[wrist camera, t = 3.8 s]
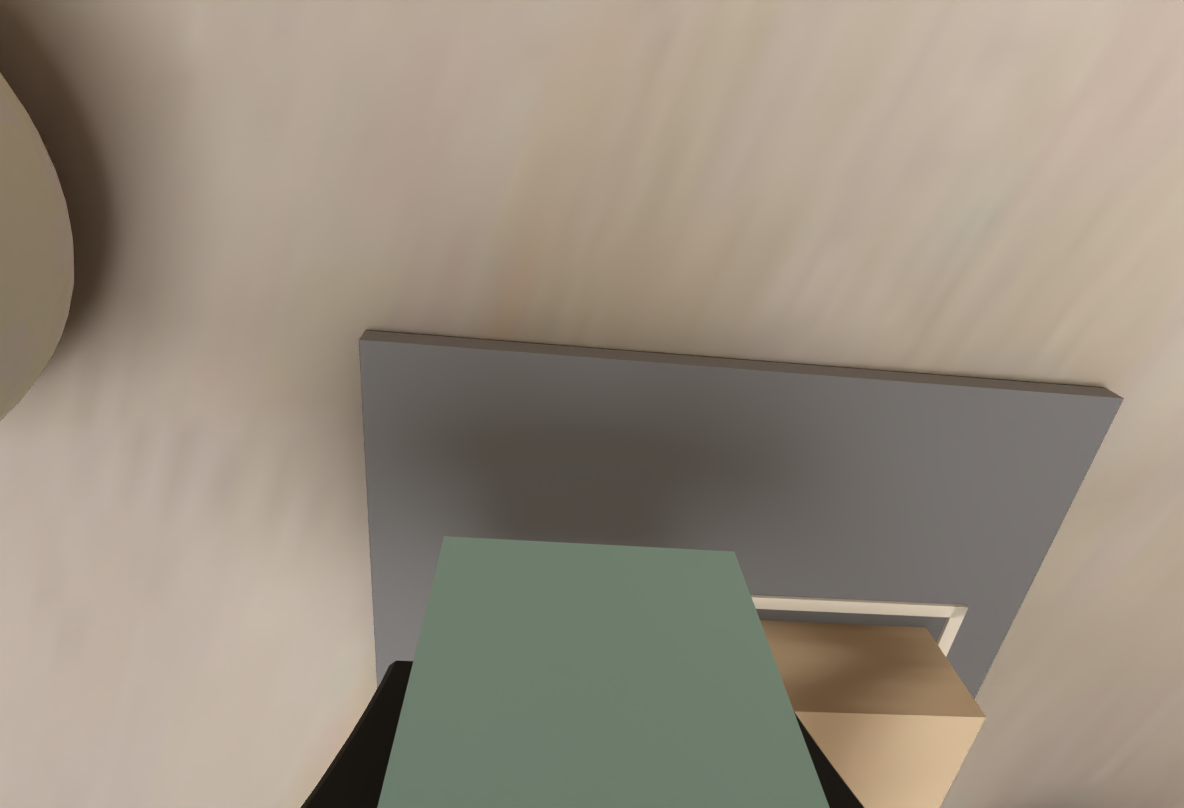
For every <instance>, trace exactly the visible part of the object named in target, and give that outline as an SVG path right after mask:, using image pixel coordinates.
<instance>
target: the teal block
mask: <svg viewBox="0 0 1184 808" xmlns="http://www.w3.org/2000/svg"><path fill="white" fill-rule="evenodd" d="M377 808H830V807H829V805H828V802H827V799H826V797H825V794H824V791H823V789H822V786H821V783H820V781H819V778H818V775H817V772H816V770H815V767H814V764H813V762H812V759H811V756H810V754H809V751H808V748H807V746H806V743H805V740H804V737H803V735H802V732H801V729H800V727H799V724H798V721H797V719H796V716H795V713H794V710H793V708H792V705H791V702H790V700H789V697H788V694H787V692H786V689H785V686H784V684H783V681H782V678H781V675H780V673H779V670H778V667H777V665H776V662H775V659H774V657H773V654H772V651H771V649H770V646H769V643H768V640H767V638H766V635H765V632H764V630H763V627H762V624H761V622H760V619H759V616H758V614H757V611H756V608H755V605H754V603H753V600H752V597H751V595H750V592H749V589H748V587H747V584H746V581H745V579H744V576H743V573H742V570H741V568H740V565H739V562H738V560H737V557H736V554H735V552H734V551H715V550H696V549H677V548H658V547H639V546H620V545H601V544H582V543H563V542H544V541H525V540H506V539H487V538H468V537H449V536H444V538H443V543H442V547H441V551H440V555H439V559H438V563H437V567H436V571H435V575H434V579H433V583H432V587H431V591H430V595H429V599H428V604H427V608H426V612H425V616H424V620H423V624H422V628H421V632H420V636H419V640H418V644H417V648H416V652H415V656H414V660H413V665H412V669H411V673H410V677H409V681H408V685H407V689H406V693H405V697H404V701H403V705H402V709H401V713H400V717H399V721H398V726H397V730H396V734H395V738H394V742H393V746H392V750H391V754H390V758H389V762H388V766H387V770H386V774H385V778H384V782H383V787H382V791H381V795H380V799H379V803H378V807H377Z"/></svg>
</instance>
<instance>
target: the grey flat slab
mask: <svg viewBox="0 0 1184 808" xmlns="http://www.w3.org/2000/svg"><path fill="white" fill-rule="evenodd" d="M359 352H360V370H361V389H362V408H363V427H364V446H365V465H366V484H367V503H368V522H369V540H370V559H371V578H372V597H373V616H374V635H375V654H376V673H377V688H378V687H379V685H380V683H381V681H382V679H383V677H384V675H385V673H386V671H387V669H388V667H389V665H390V664H392V663H393V662H395V661H413V660H414V656H415V652H416V648H417V644H418V640H419V636H420V632H421V628H422V624H423V620H424V616H425V612H426V608H427V604H428V599H429V595H430V591H431V587H432V583H433V579H434V575H435V571H436V567H437V563H438V559H439V555H440V551H441V547H442V543H443V538H444V536H449V537H468V538H487V539H506V540H525V541H544V542H563V543H582V544H601V545H620V546H639V547H658V548H677V549H696V550H715V551H734V552H735V554H736V557H737V560H738V562H739V565H740V568H741V570H742V573H743V576H744V579H745V581H746V584H747V587H748V589H749V592H750V595H751V597H752V600H753V603H754V605H755V608H756V611H757V614H758V616H759V619H760V620H766V621H789V622H813V623H836V624H859V625H882V626H905V627H926V628H927V630H928V631H929V633H930V634H931V636H932V637H933V639H934V640H935V642H936V643H937V645H938V646H939V648H940V649H941V651H942V652H943V654H944V655H945V657H946V658H947V660H948V661H949V663H950V664H951V666H952V667H953V669H954V670H955V672H956V673H957V675H958V676H959V678H960V679H961V681H962V682H963V684H964V685H965V687H966V688H967V690H968V691H969V693H970V694H971V696H972V697H973V699H975V697H976V695H977V693H978V691H979V689H980V686H981V684H982V682H983V680H984V678H985V676H986V674H987V672H988V670H989V668H990V666H991V664H992V662H993V660H994V658H995V656H996V654H997V652H998V650H999V648H1000V646H1001V644H1002V642H1003V640H1004V638H1005V636H1006V634H1007V632H1008V630H1009V628H1010V626H1011V624H1012V622H1013V620H1014V618H1015V616H1016V614H1017V612H1018V610H1019V608H1020V606H1021V604H1022V602H1023V600H1024V598H1025V596H1026V594H1027V592H1028V590H1029V588H1030V586H1031V584H1032V582H1033V580H1034V578H1035V576H1036V574H1037V572H1038V570H1039V568H1040V566H1041V564H1042V562H1043V560H1044V558H1045V556H1046V554H1047V552H1048V550H1049V548H1050V546H1051V544H1052V542H1053V540H1054V538H1055V536H1056V534H1057V532H1058V530H1059V528H1060V526H1061V524H1062V522H1063V520H1064V518H1065V516H1066V514H1067V512H1068V510H1069V508H1070V506H1071V504H1072V502H1073V500H1074V498H1075V496H1076V494H1077V492H1078V490H1079V488H1080V486H1081V483H1082V481H1083V479H1084V477H1085V475H1086V473H1087V471H1088V469H1089V467H1090V465H1091V463H1092V461H1093V459H1094V457H1095V455H1096V453H1097V451H1098V449H1099V447H1100V445H1101V443H1102V441H1103V439H1104V437H1105V435H1106V433H1107V431H1108V429H1109V427H1110V425H1111V423H1112V421H1113V419H1114V417H1115V415H1116V413H1117V411H1118V409H1119V407H1120V405H1121V403H1122V401H1123V399H1124V398H1122V397H1120V396H1119V395H1117V394H1115V393H1113V392H1112V391H1110V390H1108V389H1106V388H1099V387H1086V386H1073V385H1060V384H1047V383H1035V382H1022V381H1009V380H996V379H983V378H971V377H958V376H945V375H932V374H919V373H907V372H894V371H881V370H868V369H855V368H843V367H830V366H817V365H804V364H791V363H779V362H766V361H753V360H740V359H727V358H715V357H702V356H689V355H676V354H663V353H650V352H638V351H625V350H612V349H599V348H586V347H574V346H561V345H548V344H535V343H522V342H510V341H497V340H484V339H471V338H458V337H446V336H433V335H420V334H407V333H394V332H382V331H369V330H366V331H365V332H364V333H363V335H362V336H361V338H360V339H359Z"/></svg>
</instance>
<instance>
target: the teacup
mask: <svg viewBox="0 0 1184 808" xmlns="http://www.w3.org/2000/svg"><path fill="white" fill-rule="evenodd" d="M73 287H74V248H73V237H72V231H71V225H70V220H69V214H68V209H67V204H66V200H65V197H64V194H63V191H62V188H61V185H60V182H59V179H58V176H57V173H56V170H55V168H54V165H53V163H52V161H51V159H50V157H49V154H48V152H47V150H46V148H45V146H44V144H43V141H42V139H41V137H40V135H39V133H38V131H37V129H36V127H35V125H34V124H33V122H32V120H31V118H30V116H29V115H28V113H27V111H26V110H25V108H24V107H23V105H22V104H21V102H20V101H19V99H18V98H17V96H16V95H15V93H14V92H13V90H12V89H11V87H10V86H9V85H8V83H7V82H6V80H5V79H4V77H3V76H2V74H1V73H0V421H1V420H2V419H3V418H4V417H5V416H6V415H7V414H8V413H9V412H10V411H11V410H12V409H13V408H14V407H15V406H16V405H17V404H18V403H19V401H20V400H21V399H22V398H23V396H24V395H25V394H26V393H27V391H28V390H29V389H30V388H31V386H32V385H33V384H34V383H35V381H36V380H37V379H38V378H39V376H40V375H41V373H42V372H43V370H44V368H45V367H46V365H47V363H48V362H49V360H50V359H51V357H52V355H53V354H54V351H55V349H56V347H57V345H58V343H59V341H60V339H61V337H62V334H63V330H64V327H65V324H66V321H67V318H68V315H69V309H70V304H71V298H72V292H73Z"/></svg>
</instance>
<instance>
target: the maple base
mask: <svg viewBox="0 0 1184 808" xmlns="http://www.w3.org/2000/svg"><path fill="white" fill-rule="evenodd" d="M760 622H761V624H762V627H763V630H764V632H765V635H766V638H767V640H768V643H769V646H770V649H771V651H772V654H773V657H774V659H775V662H776V665H777V667H778V670H779V673H780V675H781V678H782V681H783V684H784V686H785V689H786V692H787V694H788V697H789V700H790V702H791V705H792V708H793V710H794V712H795V713H796V715H797V716H798V718H799V719H800V721H801V722H802V723H803V725H804V726H805V728H806V729H807V731H808V732H809V733H810V735H811V736H812V738H813V739H814V740H815V742H816V743H817V745H818V746H819V748H820V749H821V750H822V752H823V753H824V754H825V756H826V757H827V759H828V760H829V761H830V763H831V764H832V765H833V767H834V768H835V769H836V771H837V772H838V773H839V775H840V776H841V777H842V779H843V780H844V781H845V783H846V784H847V785H848V787H849V788H850V789H851V791H852V792H853V793H854V795H855V796H856V797H857V799H858V800H859V801H860V803H861V804H862V805H863V806H864V808H940V806H941V804H942V802H943V800H944V798H945V796H946V794H947V792H948V790H949V788H950V786H951V784H952V782H953V781H954V779H955V777H956V775H957V773H958V771H959V769H960V767H961V765H962V763H963V761H964V759H965V757H966V755H967V753H968V752H969V750H970V748H971V746H972V744H973V742H974V740H975V738H976V736H977V734H978V732H979V730H980V728H981V726H982V724H983V723H984V721H985V719H986V717H985V715H984V714H983V712H982V711H981V709H980V708H979V706H978V705H977V703H976V702H975V700H974V699H973V697H972V696H971V694H970V693H969V691H968V690H967V688H966V687H965V685H964V684H963V682H962V681H961V679H960V678H959V676H958V675H957V673H956V672H955V670H954V669H953V667H952V666H951V664H950V663H949V661H948V660H947V658H946V657H945V655H944V654H943V652H942V651H941V649H940V648H939V646H938V645H937V643H936V642H935V640H934V639H933V637H932V636H931V634H930V633H929V631H928V630H927V628H926V627H905V626H882V625H859V624H836V623H813V622H789V621H766V620H760Z"/></svg>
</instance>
